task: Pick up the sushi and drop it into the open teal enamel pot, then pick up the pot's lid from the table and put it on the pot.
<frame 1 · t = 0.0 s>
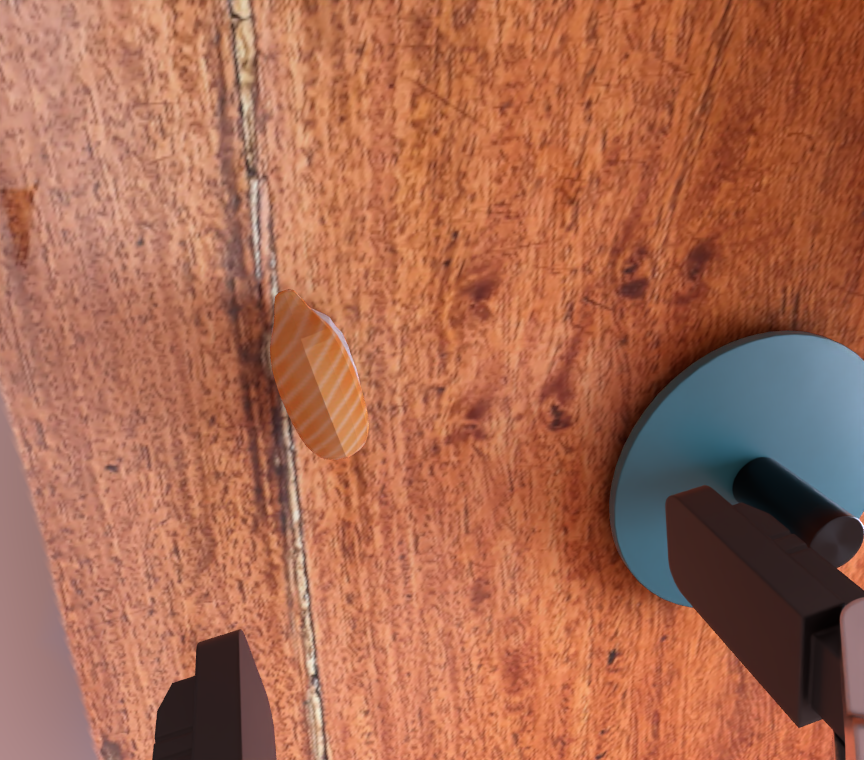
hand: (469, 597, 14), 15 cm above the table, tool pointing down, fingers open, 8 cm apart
lid: (748, 475, 33), point 1 cm above the table
sushi: (313, 362, 27), on the table
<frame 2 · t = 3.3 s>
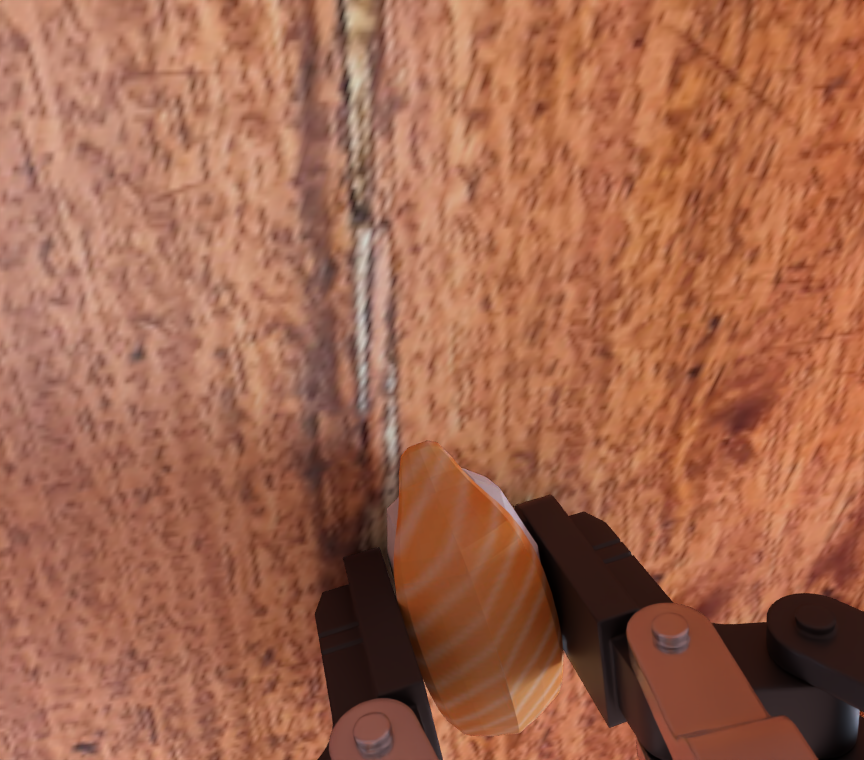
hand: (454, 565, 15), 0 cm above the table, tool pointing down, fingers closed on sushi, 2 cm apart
sushi: (449, 548, 15), on the table, touching gripper
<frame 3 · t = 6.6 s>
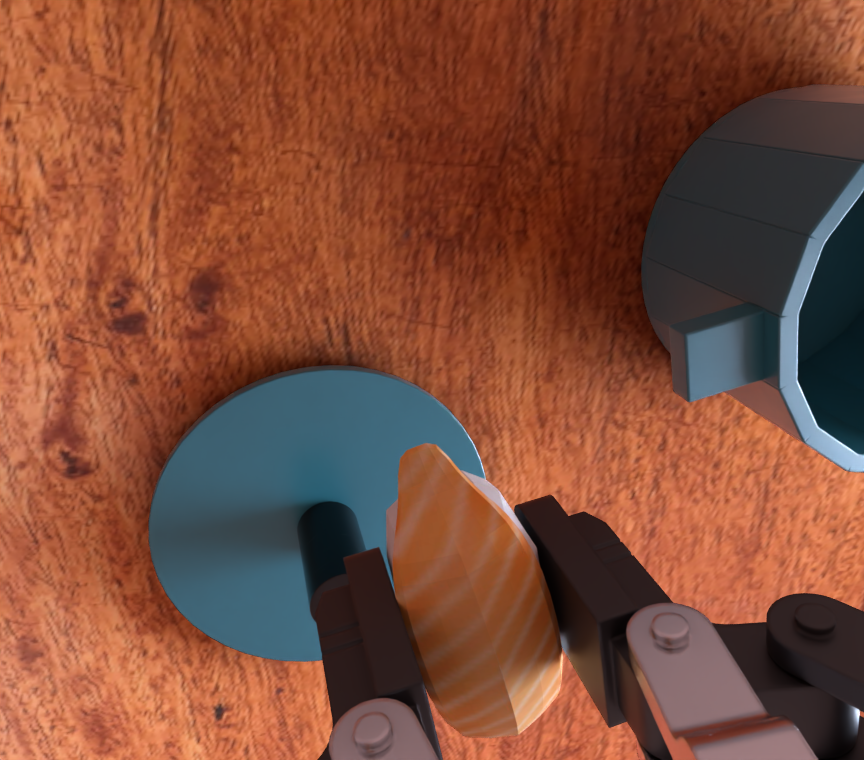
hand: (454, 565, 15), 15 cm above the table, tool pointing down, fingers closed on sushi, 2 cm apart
lid: (325, 519, 31), point 1 cm above the table
pot: (775, 245, 32), on the table
sushi: (448, 550, 15), point 15 cm above the table, touching gripper
when the fingers open (8 cm above the table, at t = 10.3 s): sushi drops 6 cm, resting on pot.
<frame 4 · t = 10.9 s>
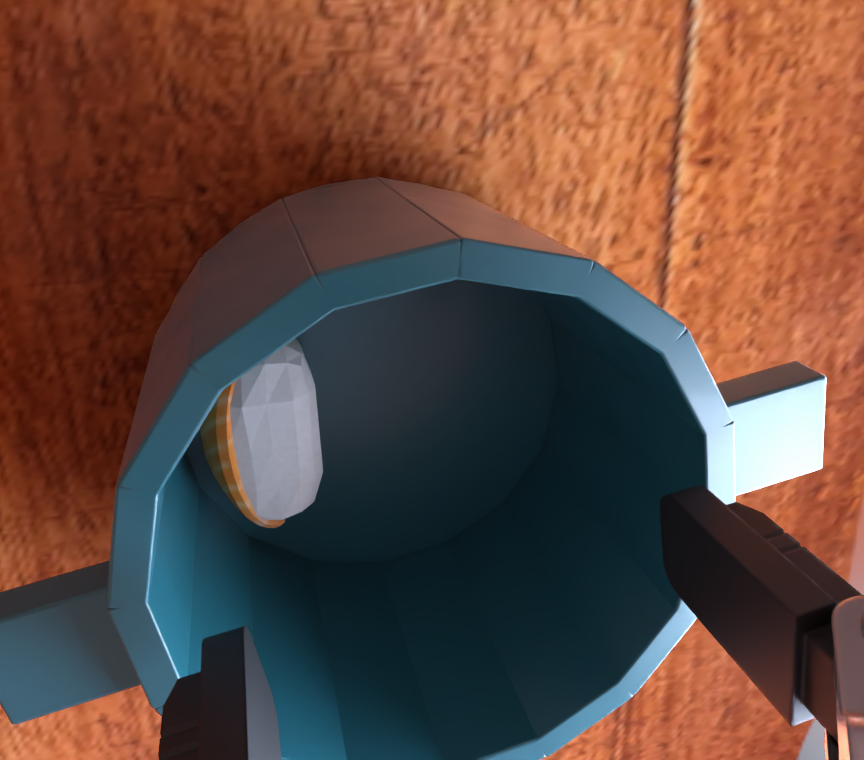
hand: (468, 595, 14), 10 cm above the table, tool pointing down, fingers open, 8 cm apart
pot: (374, 393, 22), on the table
sushi: (323, 412, 20), point 2 cm above the table, touching pot
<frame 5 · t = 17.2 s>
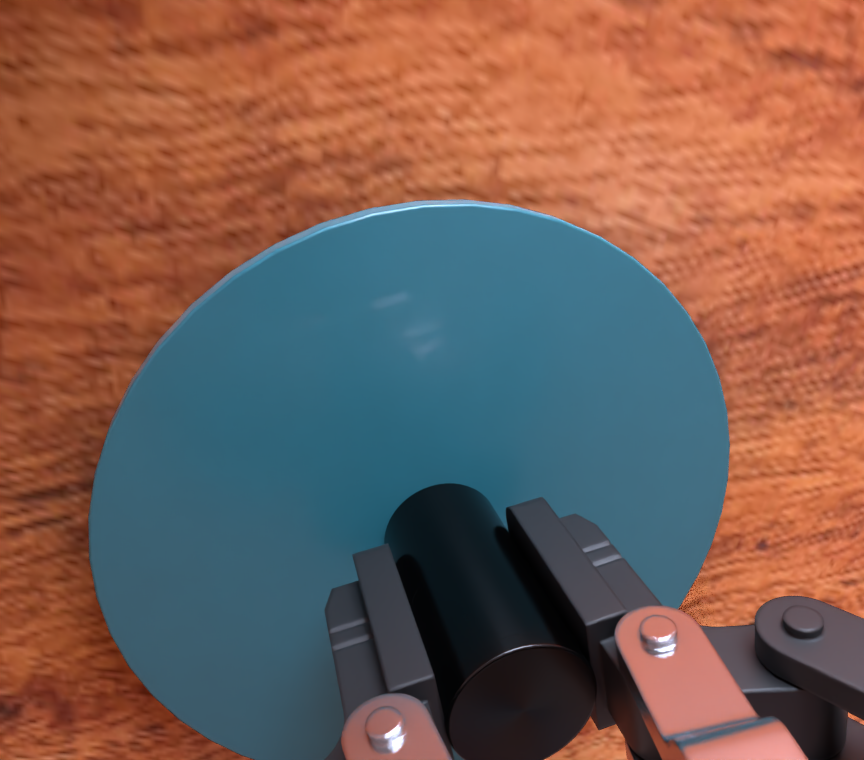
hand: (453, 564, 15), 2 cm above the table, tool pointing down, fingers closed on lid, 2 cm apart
lid: (434, 519, 16), point 1 cm above the table, touching gripper
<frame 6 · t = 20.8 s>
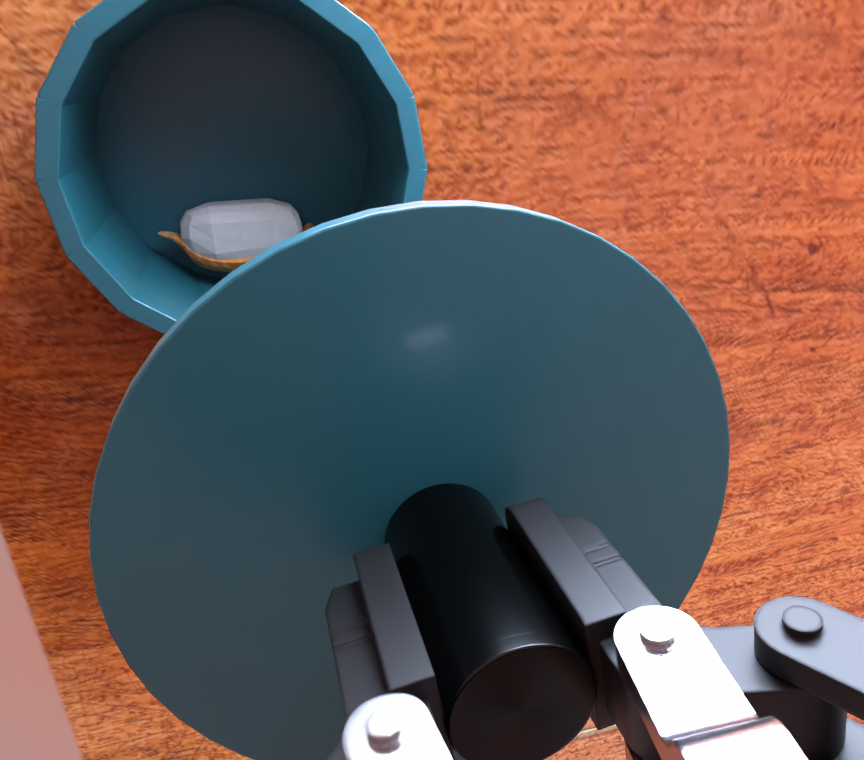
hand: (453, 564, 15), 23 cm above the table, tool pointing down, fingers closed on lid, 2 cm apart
lid: (434, 519, 16), point 22 cm above the table, touching gripper
pot: (237, 150, 33), on the table
sushi: (233, 197, 32), point 2 cm above the table, touching pot
when the fingers open (10 cm above the table, at t = 24.6 s): lid stays where it is, resting on pot.
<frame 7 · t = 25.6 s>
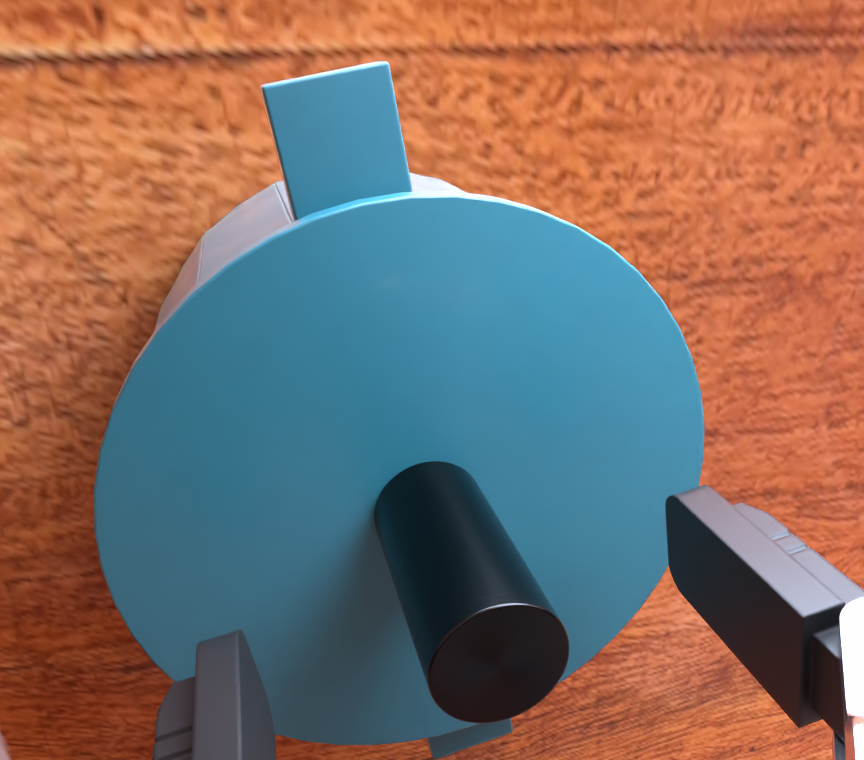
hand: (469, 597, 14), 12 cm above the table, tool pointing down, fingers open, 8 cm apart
lid: (422, 497, 17), point 8 cm above the table, touching pot
pot: (360, 363, 24), on the table
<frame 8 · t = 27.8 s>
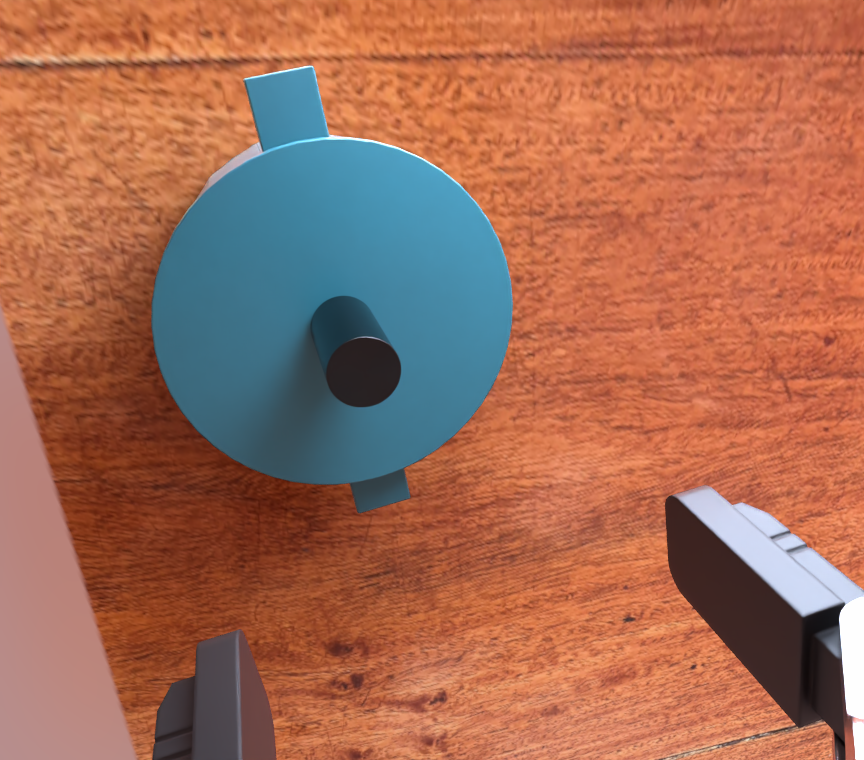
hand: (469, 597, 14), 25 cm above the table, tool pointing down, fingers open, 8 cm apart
lid: (340, 322, 29), point 8 cm above the table, touching pot
pot: (316, 269, 36), on the table
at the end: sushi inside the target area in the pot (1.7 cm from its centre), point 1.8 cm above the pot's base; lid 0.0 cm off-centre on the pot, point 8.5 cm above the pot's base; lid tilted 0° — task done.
